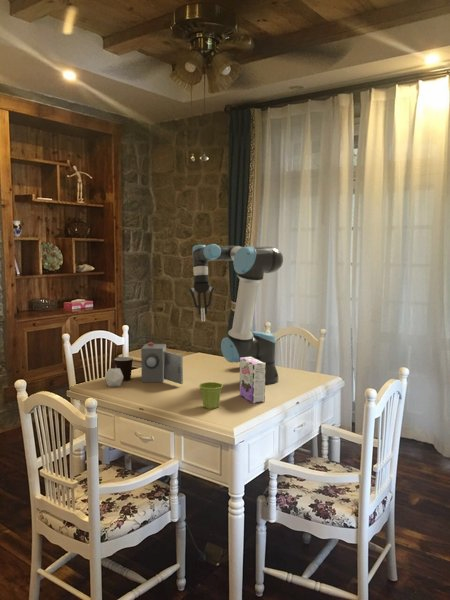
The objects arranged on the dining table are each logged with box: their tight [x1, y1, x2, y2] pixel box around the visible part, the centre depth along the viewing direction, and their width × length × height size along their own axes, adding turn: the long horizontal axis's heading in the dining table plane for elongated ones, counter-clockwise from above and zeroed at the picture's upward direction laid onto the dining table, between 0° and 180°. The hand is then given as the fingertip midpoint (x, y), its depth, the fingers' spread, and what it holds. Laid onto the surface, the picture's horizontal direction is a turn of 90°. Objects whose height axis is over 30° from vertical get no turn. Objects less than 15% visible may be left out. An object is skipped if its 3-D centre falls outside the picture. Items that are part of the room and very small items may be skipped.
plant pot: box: [198, 381, 224, 410], centre depth 201 cm, size 9×9×9 cm
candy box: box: [239, 357, 266, 404], centre depth 212 cm, size 14×6×16 cm, turn 22°
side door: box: [163, 350, 184, 385], centre depth 234 cm, size 13×2×13 cm, turn 44°
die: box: [104, 368, 124, 388], centre depth 232 cm, size 8×9×10 cm
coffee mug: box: [113, 356, 133, 382], centre depth 245 cm, size 12×9×10 cm
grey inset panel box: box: [140, 341, 167, 383], centre depth 243 cm, size 14×10×17 cm
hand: (203, 321), depth 260 cm, fingers closed
